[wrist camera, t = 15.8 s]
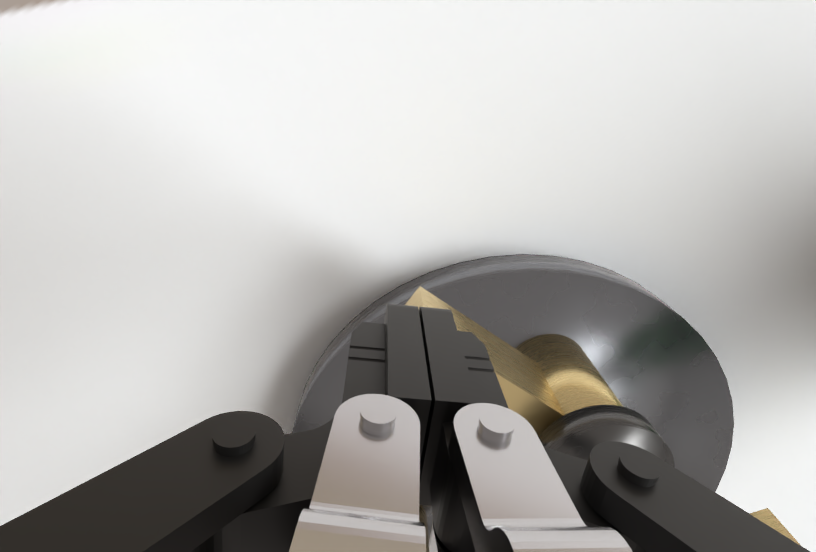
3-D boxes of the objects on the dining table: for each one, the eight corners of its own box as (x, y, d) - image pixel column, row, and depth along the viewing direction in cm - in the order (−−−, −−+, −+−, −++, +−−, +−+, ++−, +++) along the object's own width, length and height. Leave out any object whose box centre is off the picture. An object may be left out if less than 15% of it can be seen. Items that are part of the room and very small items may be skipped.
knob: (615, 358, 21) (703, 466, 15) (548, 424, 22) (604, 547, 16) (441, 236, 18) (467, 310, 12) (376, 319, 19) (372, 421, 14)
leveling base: (631, 590, 31) (762, 866, 20) (287, 573, 29) (229, 870, 18) (779, 282, 22) (1142, 473, 12) (306, 227, 20) (217, 398, 9)
